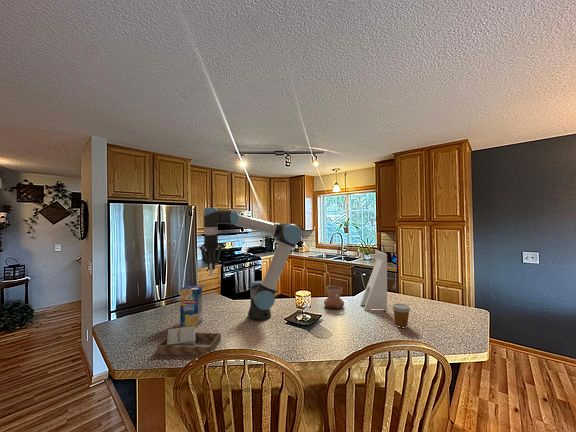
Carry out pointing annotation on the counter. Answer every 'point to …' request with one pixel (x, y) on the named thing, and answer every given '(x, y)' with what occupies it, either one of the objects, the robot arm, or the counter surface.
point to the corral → (190, 350)
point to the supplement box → (181, 336)
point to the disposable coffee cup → (401, 314)
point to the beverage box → (190, 306)
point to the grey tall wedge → (377, 285)
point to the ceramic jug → (334, 297)
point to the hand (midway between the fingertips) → (211, 275)
